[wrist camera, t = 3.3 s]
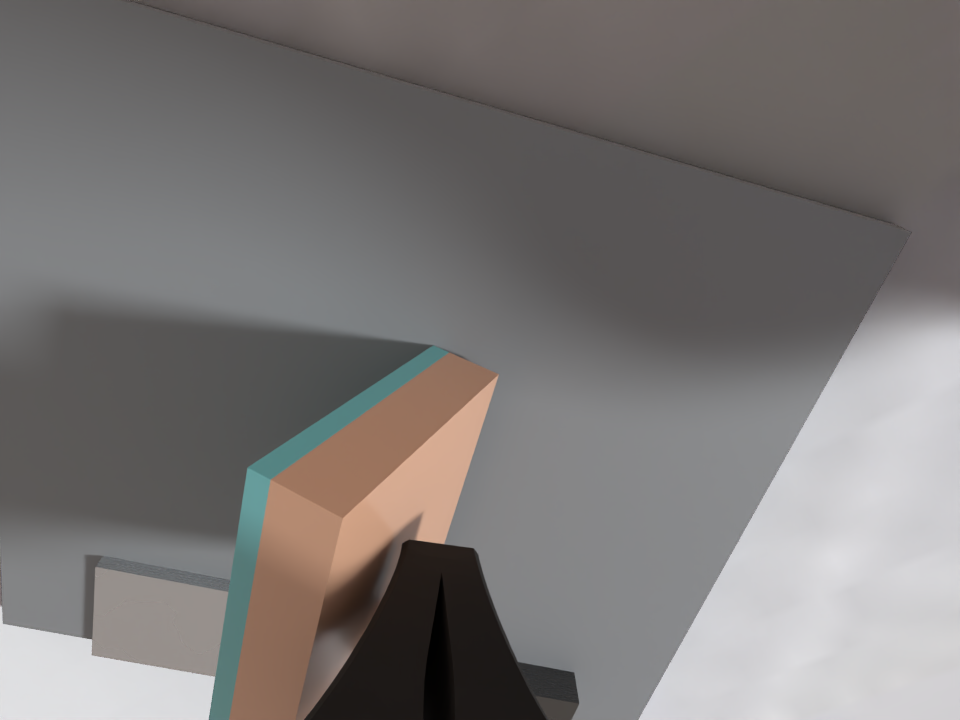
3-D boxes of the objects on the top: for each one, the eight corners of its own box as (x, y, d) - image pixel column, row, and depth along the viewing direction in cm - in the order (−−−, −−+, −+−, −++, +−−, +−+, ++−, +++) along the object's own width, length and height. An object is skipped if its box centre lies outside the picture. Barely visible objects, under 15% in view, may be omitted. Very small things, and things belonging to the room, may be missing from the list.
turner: (586, 648, 19) (592, 679, 18) (550, 722, 20) (554, 754, 19) (103, 555, 17) (82, 584, 16) (99, 643, 19) (80, 674, 18)
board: (895, 224, 14) (911, 232, 14) (626, 715, 21) (630, 733, 20) (-2, -38, 12) (-23, -41, 12) (16, 606, 19) (3, 623, 18)
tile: (498, 374, 14) (342, 518, 9) (431, 581, 17) (279, 787, 12) (433, 345, 15) (247, 467, 10) (377, 551, 17) (206, 738, 12)
